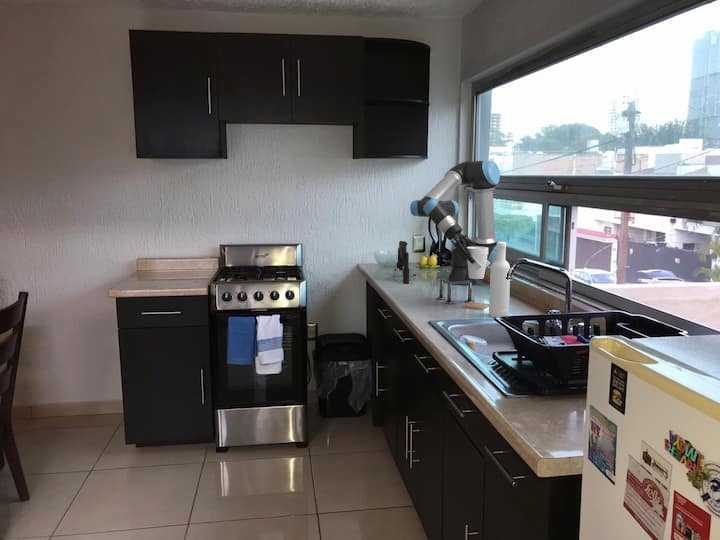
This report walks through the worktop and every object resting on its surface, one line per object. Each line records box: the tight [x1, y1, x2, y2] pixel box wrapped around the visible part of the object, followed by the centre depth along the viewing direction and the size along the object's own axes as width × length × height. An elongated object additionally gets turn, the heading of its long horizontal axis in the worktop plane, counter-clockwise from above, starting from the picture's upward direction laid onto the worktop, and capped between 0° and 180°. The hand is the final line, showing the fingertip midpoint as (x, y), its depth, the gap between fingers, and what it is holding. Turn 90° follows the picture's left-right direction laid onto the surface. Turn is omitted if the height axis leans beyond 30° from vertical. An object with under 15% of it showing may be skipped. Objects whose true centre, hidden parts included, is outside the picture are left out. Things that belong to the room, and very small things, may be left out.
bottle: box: [488, 241, 511, 319], centre depth 234 cm, size 8×8×30 cm
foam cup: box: [467, 247, 488, 280], centre depth 250 cm, size 10×9×13 cm
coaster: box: [461, 301, 489, 311], centre depth 253 cm, size 9×9×1 cm
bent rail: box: [436, 278, 475, 305], centre depth 263 cm, size 11×18×10 cm, turn 58°
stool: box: [387, 240, 418, 285], centre depth 321 cm, size 16×21×33 cm
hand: (483, 267), depth 249 cm, fingers closed on foam cup, 9 cm apart
